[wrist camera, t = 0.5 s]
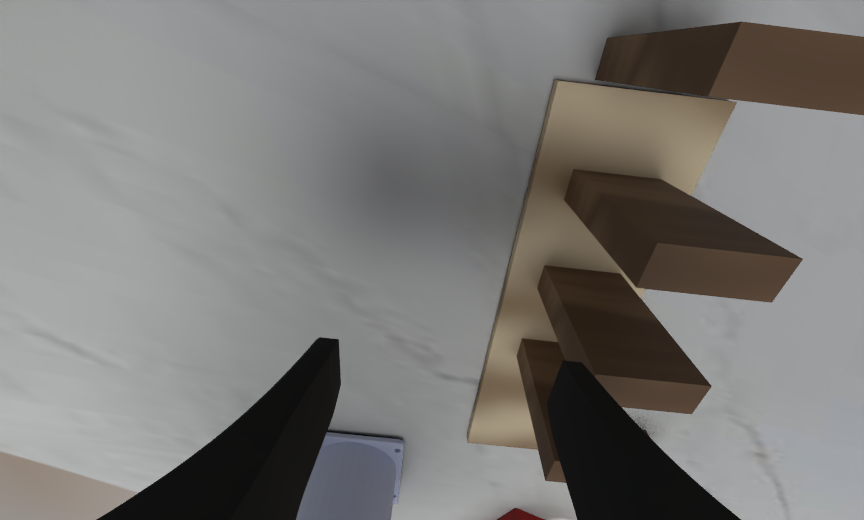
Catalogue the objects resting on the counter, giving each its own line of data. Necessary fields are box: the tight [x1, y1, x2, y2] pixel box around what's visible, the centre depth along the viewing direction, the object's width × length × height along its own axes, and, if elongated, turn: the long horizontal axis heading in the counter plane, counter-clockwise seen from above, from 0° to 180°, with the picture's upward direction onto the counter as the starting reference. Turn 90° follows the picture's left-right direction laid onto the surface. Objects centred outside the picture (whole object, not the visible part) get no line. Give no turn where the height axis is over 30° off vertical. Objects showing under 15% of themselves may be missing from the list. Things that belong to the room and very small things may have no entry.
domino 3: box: [564, 169, 803, 302], centre depth 14 cm, size 2×4×8 cm, turn 84°
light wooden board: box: [467, 80, 737, 450], centre depth 22 cm, size 26×8×1 cm, turn 174°
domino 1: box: [516, 338, 566, 483], centre depth 20 cm, size 2×4×8 cm, turn 84°
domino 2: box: [595, 22, 864, 115], centre depth 12 cm, size 2×4×8 cm, turn 84°
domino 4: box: [537, 265, 711, 414], centre depth 17 cm, size 2×4×8 cm, turn 84°
